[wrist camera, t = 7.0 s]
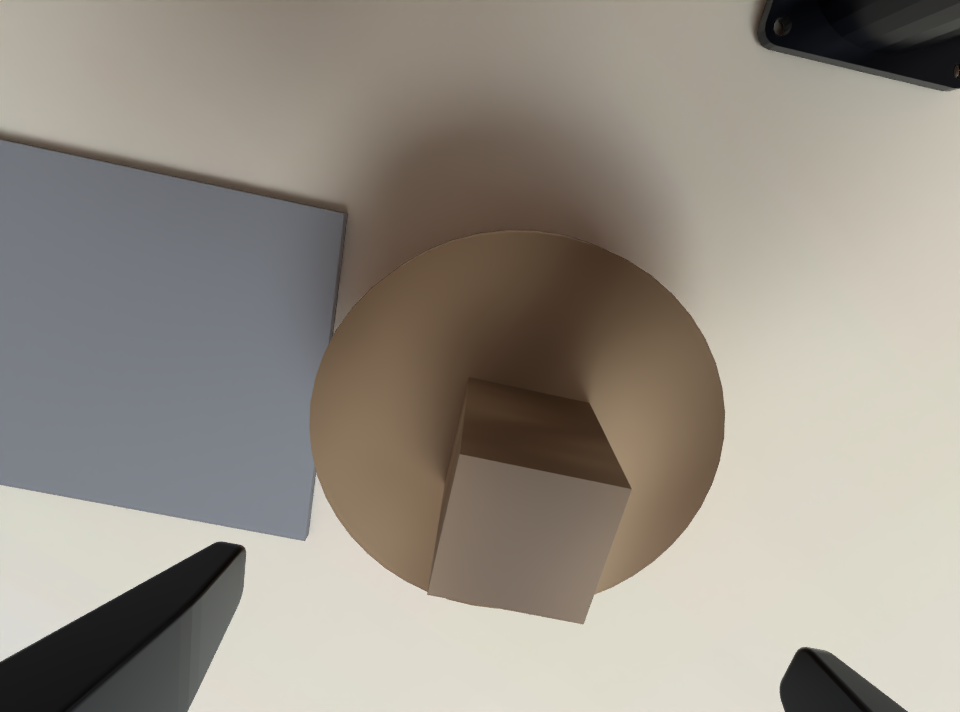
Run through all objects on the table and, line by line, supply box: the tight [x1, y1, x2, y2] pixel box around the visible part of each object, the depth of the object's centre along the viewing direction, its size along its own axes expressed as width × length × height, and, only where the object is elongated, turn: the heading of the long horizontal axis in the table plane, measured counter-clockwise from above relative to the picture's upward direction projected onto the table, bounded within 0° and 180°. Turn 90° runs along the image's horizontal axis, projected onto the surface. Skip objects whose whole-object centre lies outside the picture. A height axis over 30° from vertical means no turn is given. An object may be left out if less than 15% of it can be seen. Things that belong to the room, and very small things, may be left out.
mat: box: [0, 139, 347, 541], centre depth 18 cm, size 13×13×1 cm
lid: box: [309, 230, 725, 624], centre depth 12 cm, size 11×11×5 cm
